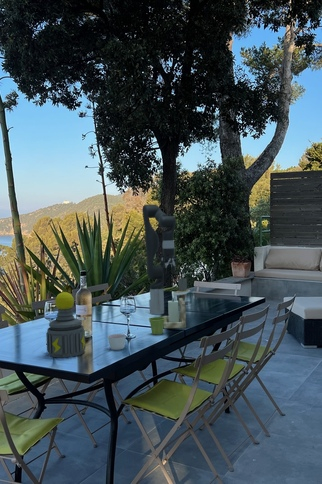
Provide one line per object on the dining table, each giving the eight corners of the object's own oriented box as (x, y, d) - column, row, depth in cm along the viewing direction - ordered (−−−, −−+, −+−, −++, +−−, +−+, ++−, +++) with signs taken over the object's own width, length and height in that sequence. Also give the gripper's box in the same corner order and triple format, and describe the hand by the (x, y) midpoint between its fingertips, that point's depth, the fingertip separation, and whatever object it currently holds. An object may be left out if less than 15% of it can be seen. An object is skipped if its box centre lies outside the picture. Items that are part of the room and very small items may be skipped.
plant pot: (153, 336, 271) (153, 320, 270) (146, 333, 279) (145, 318, 279) (168, 334, 275) (168, 318, 275) (160, 331, 283) (160, 316, 283)
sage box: (169, 325, 300) (168, 299, 299) (168, 323, 304) (168, 298, 304) (178, 324, 300) (178, 299, 299) (178, 323, 305) (177, 298, 304)
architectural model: (193, 309, 353) (192, 282, 352) (159, 309, 360) (158, 282, 359) (203, 301, 389) (202, 276, 389) (172, 300, 396) (172, 276, 396)
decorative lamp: (58, 347, 252) (56, 289, 251) (92, 349, 247) (90, 289, 246) (39, 357, 234) (36, 294, 233) (75, 359, 229) (72, 295, 228)
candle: (126, 345, 252) (126, 333, 251) (125, 350, 243) (125, 337, 242) (108, 346, 251) (108, 334, 251) (107, 351, 242) (107, 338, 242)
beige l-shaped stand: (164, 328, 290) (163, 304, 290) (162, 320, 313) (161, 298, 313) (186, 327, 291) (185, 303, 290) (183, 320, 314) (182, 298, 313)
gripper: (166, 248, 305) (167, 274, 306) (179, 247, 317) (180, 272, 317) (156, 248, 310) (157, 273, 311) (170, 247, 321) (171, 271, 322)
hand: (169, 273), depth 314 cm, fingers open, 8 cm apart
